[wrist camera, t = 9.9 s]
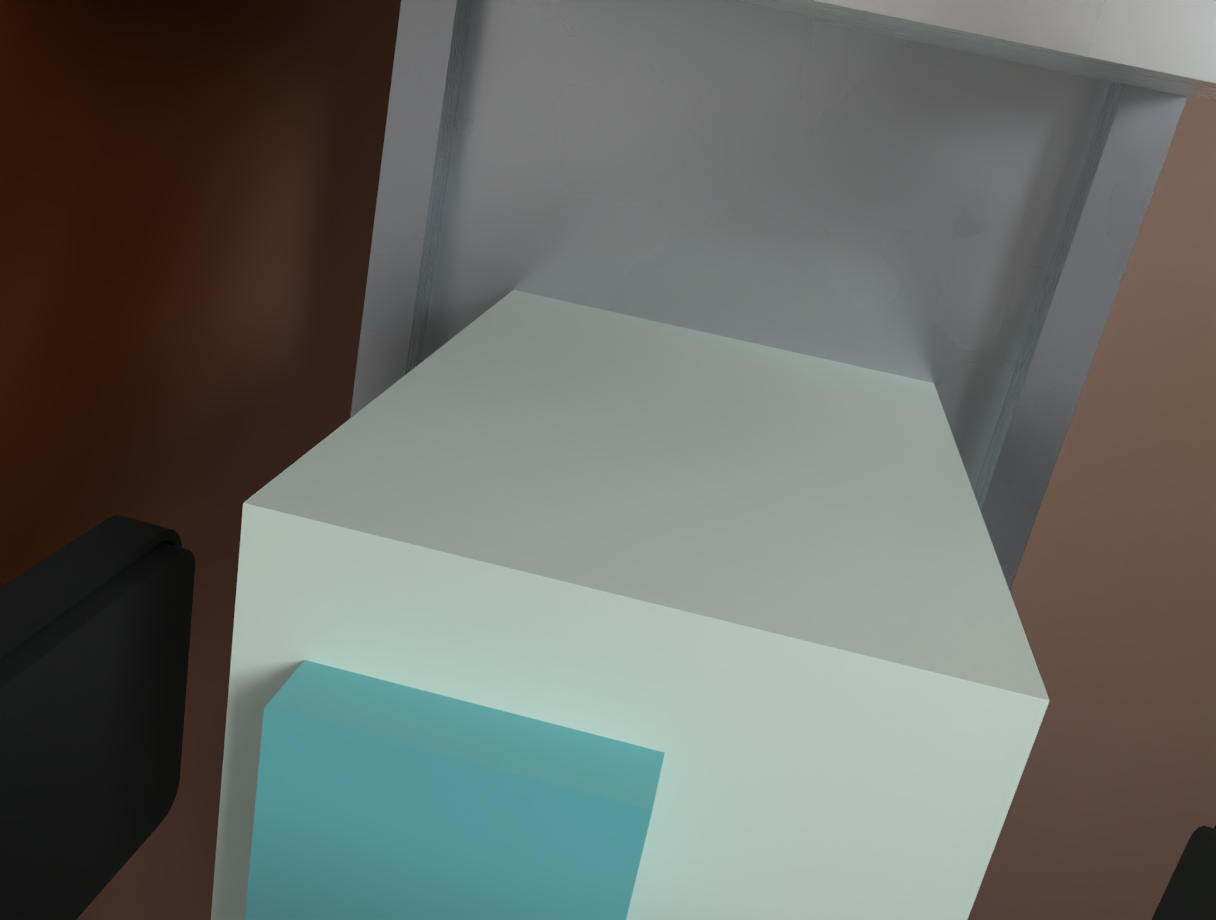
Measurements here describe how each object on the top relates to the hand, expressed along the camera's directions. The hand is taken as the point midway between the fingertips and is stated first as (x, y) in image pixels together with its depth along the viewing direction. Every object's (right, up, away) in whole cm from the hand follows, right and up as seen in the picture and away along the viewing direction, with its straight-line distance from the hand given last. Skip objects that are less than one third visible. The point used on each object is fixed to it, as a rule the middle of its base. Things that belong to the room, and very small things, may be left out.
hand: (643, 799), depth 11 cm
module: (0, +1, +4) cm, 4 cm away
